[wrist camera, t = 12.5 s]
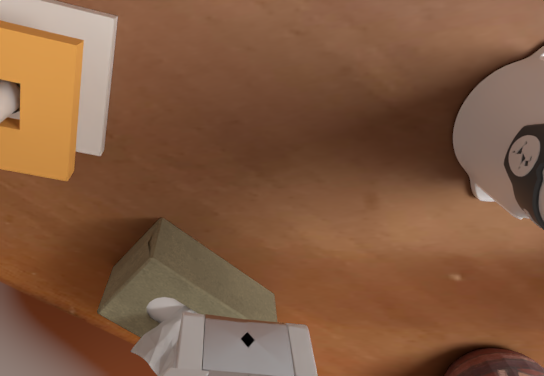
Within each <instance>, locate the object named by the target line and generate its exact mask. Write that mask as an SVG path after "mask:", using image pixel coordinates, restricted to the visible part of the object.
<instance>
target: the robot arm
mask: <svg viewBox="0 0 544 376" xmlns="http://www.w3.org/2000/svg"><path fill="white" fill-rule="evenodd" d="M453 147H454V151H455V155H456V157H457V159H458V161H459V163H460V164H461V166H462V167H463V168H464V170H465V171H466V172H467V174H468V175H469V177H470V183H471V189H472V193H473V195H474V196H475V197H476V198H478V199H479V200H481V201H494V202H497V203H498V204H499V205H500V206H502V207H503V208H504V209H505V210H506V211H508V212H509V213H510V214H511V215H512V216H514V217H516V218H518V219H522V218H529V219H531V220H532V221H533V222H534V223H535V224H536V225H538V226H539V227H540V228H542V229H543V230H544V46H543V47H541V48H540V49H539V50H538V51H536V52H535V53H534V54H533V55H531V56H529V57H528V58H525V59H523V60H520V61H517V62H514V63H511V64H509V65H506V66H504V67H502V68H500V69H498V70H497V71H495V72H493V73H492V74H490V75H489V76H488V77H486V78H485V79H484V80H483V81H481V82H480V83H479V84H478V85H477V86H476V87H475V88H474V89H473V91H472V92H471V93H470V94H469V96H468V97H467V98H466V100H465V101H464V103H463V105H462V106H461V108H460V110H459V113H458V115H457V118H456V121H455V125H454V130H453ZM162 376H318V375H317V370H316V365H315V360H314V355H313V350H312V345H311V340H310V335H309V330H308V327H307V326H306V325H302V324H291V323H286V324H285V323H279V322H269V321H259V320H249V319H239V318H231V317H223V316H216V315H208V314H205V315H204V314H197V313H190V312H183V314H182V319H181V324H180V330H179V335H178V341H177V346H176V352H175V358H174V364H173V368H169V369H168V370H167V371H166V372H165V373H164V374H163V375H162Z"/></svg>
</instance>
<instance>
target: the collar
mask: <svg viewBox="0 0 544 376" xmlns="http://www.w3.org/2000/svg"><path fill="white" fill-rule="evenodd" d="M83 46H84V40H81V39H77V38H73V37H68V36H64V35H60V34H56V33H51V32H47V31H43V30H39V29H34V28H30V27H26V26H22V25H18V24H13V23H9V22H5V21H1V20H0V79H1V80H6V81H11V82H15V83H20V120H19V119H14V118H9V117H7V118H6V119H5V120H3V121H2V122H1V123H0V169H3V170H8V171H14V172H19V173H25V174H30V175H35V176H41V177H46V178H52V179H57V180H63V181H68V180H69V178H70V177H71V175H72V174H73V172H74V166H75V153H76V139H77V126H78V113H79V99H80V86H81V72H82V59H83Z"/></svg>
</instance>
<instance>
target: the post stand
mask: <svg viewBox="0 0 544 376" xmlns="http://www.w3.org/2000/svg"><path fill="white" fill-rule="evenodd" d="M0 20H1V21H5V22H9V23H13V24H18V25H22V26H26V27H30V28H34V29H39V30H43V31H47V32H51V33H56V34H60V35H64V36H68V37H73V38H77V39H81V40H84V46H83V59H82V72H81V86H80V99H79V113H78V126H77V139H76V152H81V153H86V154H91V155H96V156H101V155H102V153H103V151H104V145H105V136H106V126H107V116H108V107H109V97H110V88H111V78H112V68H113V59H114V49H115V40H116V30H117V20H118V16H116V15H112V14H108V13H104V12H100V11H95V10H91V9H87V8H83V7H79V6H75V5H71V4H67V3H63V2H59V1H55V0H0ZM7 117H9V118H14V119H19V120H20V83H15V82H11V81H6V80H1V79H0V123H1V122H2V121H3V120H5V119H6V118H7Z"/></svg>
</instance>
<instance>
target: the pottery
mask: <svg viewBox="0 0 544 376" xmlns="http://www.w3.org/2000/svg"><path fill="white" fill-rule="evenodd" d="M444 376H544V368H543V367H541V366H540V365H539V364H538V363H536V362H535V361H534V360H532V359H531V358H529V357H527V356H525V355H523V354H521V353H517V352H514V351H511V350H506V349H500V348H484V349H478V350H474V351H472V352H469V353H467V354H465V355H463V356H462V357H460V358H458V359H457V360H456V361H455V362H454V363H453V364H452V365H451V366H450V367H449V368H448V370H447V371H446V373H445V375H444Z"/></svg>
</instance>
